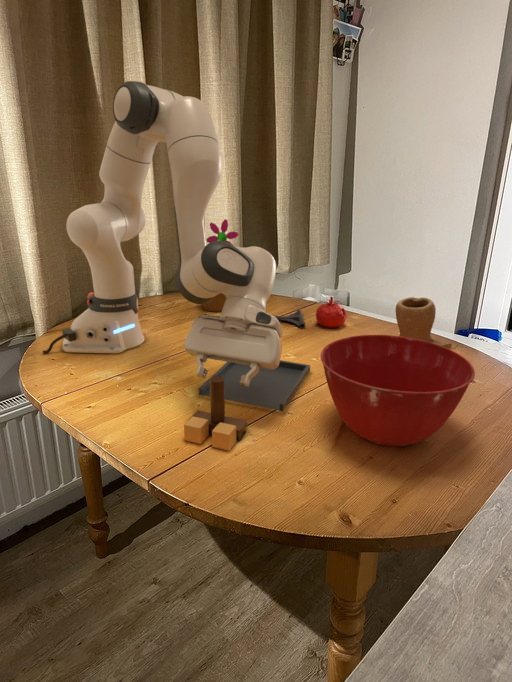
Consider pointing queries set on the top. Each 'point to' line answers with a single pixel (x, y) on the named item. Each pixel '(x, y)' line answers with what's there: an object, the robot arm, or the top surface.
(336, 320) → the pomegranate
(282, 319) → the dark grey scraper
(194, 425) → the bread cube
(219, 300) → the flowerpot
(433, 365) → the mixing bowl
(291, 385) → the tray
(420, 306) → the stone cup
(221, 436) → the bread cube
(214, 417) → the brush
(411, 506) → the top surface
